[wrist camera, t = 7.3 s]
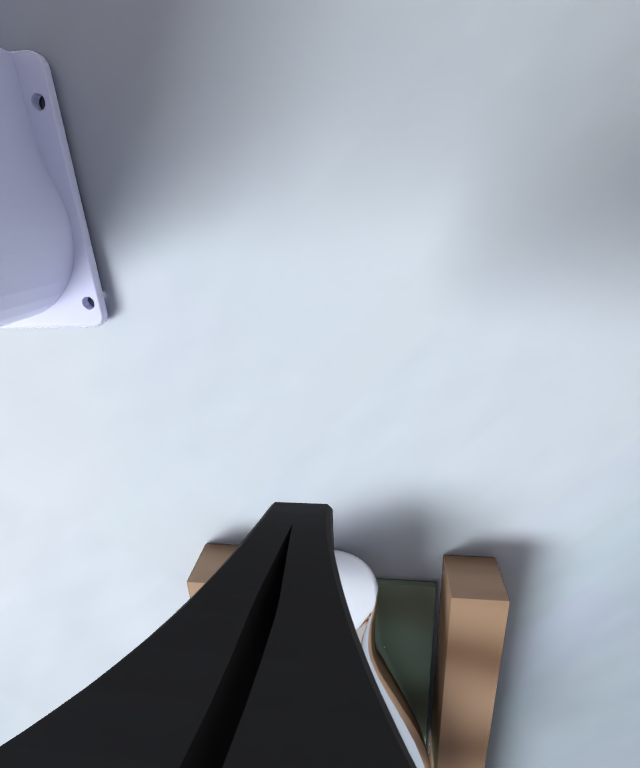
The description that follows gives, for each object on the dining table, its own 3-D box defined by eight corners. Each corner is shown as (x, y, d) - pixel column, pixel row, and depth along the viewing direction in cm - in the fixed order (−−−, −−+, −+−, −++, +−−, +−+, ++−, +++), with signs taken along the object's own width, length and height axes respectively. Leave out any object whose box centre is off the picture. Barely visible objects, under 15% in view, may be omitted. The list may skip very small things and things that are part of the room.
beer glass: (242, 560, 23) (311, 759, 27) (217, 688, 16) (315, 926, 20) (373, 529, 22) (422, 735, 27) (404, 646, 16) (463, 895, 20)
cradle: (205, 543, 23) (172, 609, 19) (495, 557, 21) (520, 633, 17) (250, 780, 31) (232, 859, 27) (463, 806, 29) (475, 894, 25)
